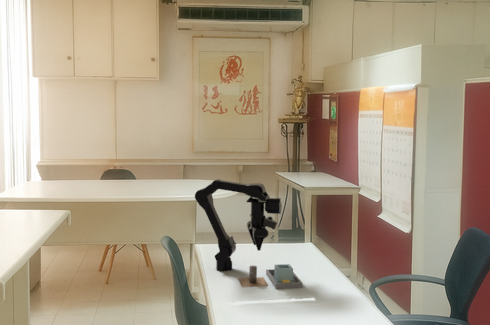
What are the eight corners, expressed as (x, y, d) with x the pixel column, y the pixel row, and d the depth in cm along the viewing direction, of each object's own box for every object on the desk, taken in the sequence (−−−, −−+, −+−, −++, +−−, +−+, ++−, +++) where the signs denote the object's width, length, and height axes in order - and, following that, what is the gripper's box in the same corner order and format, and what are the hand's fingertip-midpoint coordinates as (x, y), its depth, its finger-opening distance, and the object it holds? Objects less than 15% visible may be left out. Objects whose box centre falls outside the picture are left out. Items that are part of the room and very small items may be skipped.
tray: (275, 291, 198) (275, 284, 197) (265, 276, 216) (266, 269, 216) (302, 290, 199) (302, 282, 199) (290, 275, 218) (290, 268, 218)
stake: (241, 289, 199) (242, 271, 199) (237, 280, 210) (238, 263, 209) (268, 288, 201) (268, 270, 200) (263, 279, 212) (263, 262, 211)
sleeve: (294, 284, 203) (294, 270, 203) (278, 285, 202) (279, 270, 202) (289, 277, 211) (289, 264, 211) (274, 278, 210) (274, 264, 210)
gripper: (280, 216, 209) (279, 252, 210) (271, 208, 227) (270, 241, 228) (254, 217, 207) (253, 253, 208) (247, 208, 225) (246, 242, 227)
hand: (257, 247), depth 218 cm, fingers open, 9 cm apart
